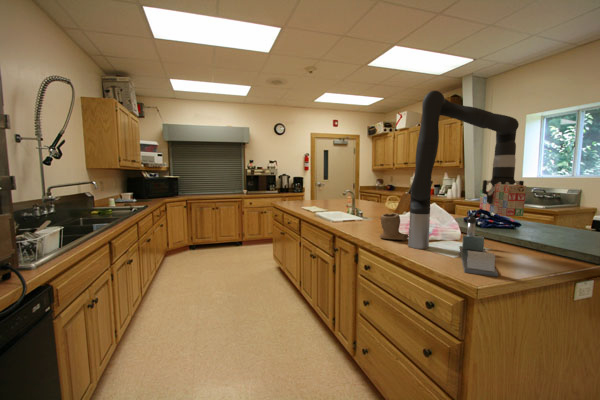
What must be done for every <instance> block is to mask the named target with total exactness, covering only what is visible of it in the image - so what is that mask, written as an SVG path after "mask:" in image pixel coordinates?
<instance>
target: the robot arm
mask: <svg viewBox="0 0 600 400" xmlns="http://www.w3.org/2000/svg"><path fill="white" fill-rule="evenodd" d="M421 104H422V109H421V110H422V111H421V112H422V113H421V124H420V128H419V133H418V138H417V144H416V150H415V171H414V175H413V179H412V183H411V187H410V203H409V204H410V205H409V224H408V225H409V226H408V227H409V228H408V235H409V236H408V238H407V241H408V242H407V244H408V245H407V246H408V248H409V247H410V248H412V249H418V250H424V249H426V250H427V249H429V248H430V247H429V246H430V245H429V244H430V224H431V223H430V221H431V219H430V217H431V195H432V193H431V192H432V173H433V168H434V166H435V163H436V158H437V155H438V149H439V142H440V141H439V137H440V131H439V130H440V129H439V122H440V117H441V116H442V117H448V118H451V119H455V120H458V121H460V122H463V123H466V124H469V125H471V126H475V127H478V128H480V129H488V130H491V131H494V132H495V147H494V157H493V163H492V174H491V179H490V180H487V179H483V181H482V186H481V187H482V189H481V190H482V193H483V194H486V195H487V203H488V204H491V194H492V193H493V192H494V191H495V189H494V188H495V186H496V185H495V184H504V185H521V186H525V185H524V184H525V181H524V180H516V179H515V171H516V162H517V161H516V160H517V159H516V151H517V143H516V137H517V131H518V128H519V125H520V123H519V121H518V120H517V118H514V117H512V116H509V115H507V114H506V115H505V114H499V113H494V112H492V111H488V110H485V109H482V108H479V107H474V106H467V105H462V104H458V103H455V102H452V101H450V100H448V99H446V97H445V96H444V94H443V93H442V92H441V91H439V90H430V91H429V92H427V93H426V95H425V96H424V97H423V100H422V103H421ZM489 184H491V186H492V185H493V186H494V187H493V188H490V189H487V188H488V187H487V186H489ZM486 190H489V192H486Z"/></svg>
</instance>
